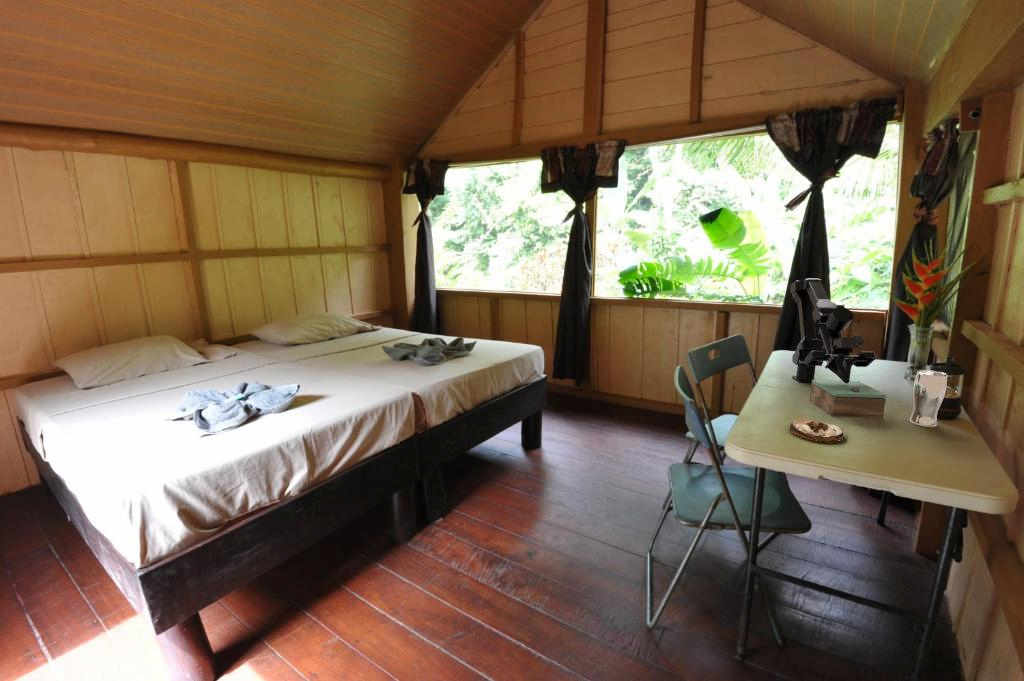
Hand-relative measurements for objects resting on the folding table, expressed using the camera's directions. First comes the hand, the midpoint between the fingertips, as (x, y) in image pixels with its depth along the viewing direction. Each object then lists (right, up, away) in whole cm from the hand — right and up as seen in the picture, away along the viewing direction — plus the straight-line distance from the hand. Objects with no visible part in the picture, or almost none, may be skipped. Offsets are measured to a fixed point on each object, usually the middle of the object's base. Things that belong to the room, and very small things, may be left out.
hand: (847, 382), depth 150 cm
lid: (0, -2, 0) cm, 2 cm away
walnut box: (0, -8, +1) cm, 9 cm away
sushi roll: (-20, -13, -16) cm, 29 cm away
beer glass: (+15, -11, -10) cm, 21 cm away
